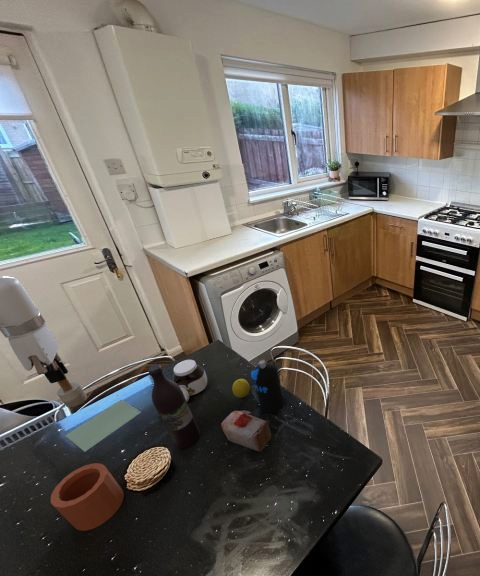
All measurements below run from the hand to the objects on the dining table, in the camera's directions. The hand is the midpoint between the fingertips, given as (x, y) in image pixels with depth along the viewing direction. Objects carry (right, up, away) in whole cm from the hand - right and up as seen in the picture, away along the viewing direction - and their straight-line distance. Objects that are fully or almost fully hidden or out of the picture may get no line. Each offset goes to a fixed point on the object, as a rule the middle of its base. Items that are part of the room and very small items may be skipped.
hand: (59, 377), depth 87 cm
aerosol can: (+52, -16, +22) cm, 59 cm away
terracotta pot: (+17, -32, -7) cm, 37 cm away
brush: (0, -8, +5) cm, 10 cm away
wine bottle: (+29, -23, +11) cm, 39 cm away
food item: (+49, -23, +11) cm, 55 cm away
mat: (-1, -20, +15) cm, 25 cm away
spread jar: (+21, -14, +26) cm, 36 cm away
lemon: (+40, -14, +25) cm, 50 cm away
